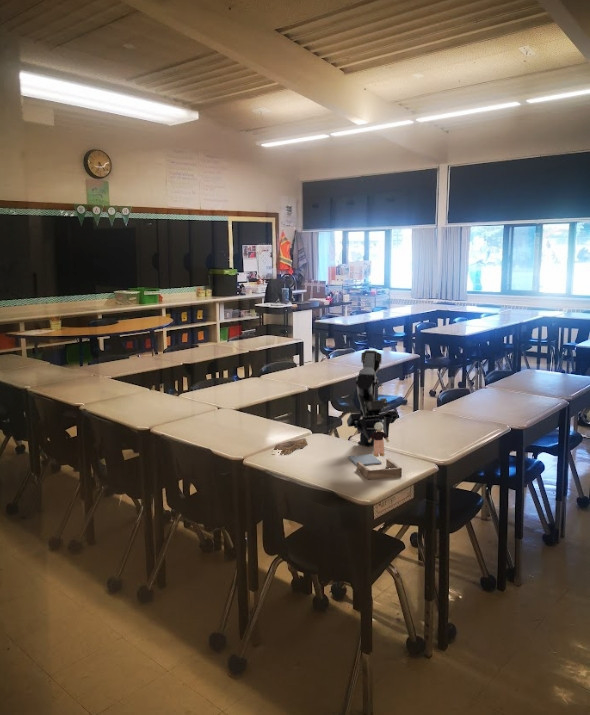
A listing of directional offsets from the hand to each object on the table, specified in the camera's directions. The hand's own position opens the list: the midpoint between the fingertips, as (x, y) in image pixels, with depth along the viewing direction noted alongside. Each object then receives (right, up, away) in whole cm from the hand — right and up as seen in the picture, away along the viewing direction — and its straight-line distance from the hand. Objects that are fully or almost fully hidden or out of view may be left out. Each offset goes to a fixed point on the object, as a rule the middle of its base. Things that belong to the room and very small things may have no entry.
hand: (378, 438), depth 220 cm
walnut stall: (0, -13, +1) cm, 13 cm away
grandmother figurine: (0, -7, +2) cm, 7 cm away
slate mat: (-3, -11, +14) cm, 18 cm away
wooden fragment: (-32, -8, +31) cm, 46 cm away
